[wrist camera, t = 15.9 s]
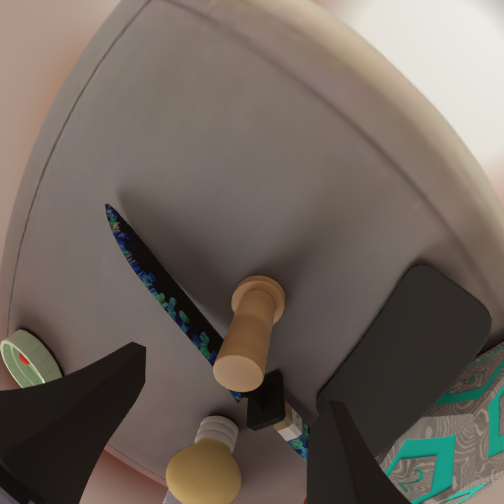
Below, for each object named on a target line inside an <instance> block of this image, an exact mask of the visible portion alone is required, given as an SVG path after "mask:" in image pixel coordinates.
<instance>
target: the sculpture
mask: <svg viewBox="0 0 504 504" xmlns="http://www.w3.org/2000/svg"><path fill="white" fill-rule="evenodd" d="M377 463H378V464H379V466H380V467H381V469H382V470H383V472H384V473H385V474H386V475H387V477H388V478H389V479H390V480H391V482H392V483H393V484H394V485H395V487H396V488H397V489H398V490H399V491H400V492H401V493H402V494H403V495H404V496H405V497H406V498H407V499H408V500H409V501H410V502H411V503H412V504H462V503H464V502H466V501H468V500H470V499H472V498H474V497H476V496H478V495H479V494H481V493H482V492H483V491H485V490H486V489H487V488H489V487H490V486H491V485H492V484H494V483H495V482H496V481H497V480H498V479H499V478H501V477H502V476H503V475H504V341H503V342H502V343H500V344H499V345H497V346H495V347H494V348H492V349H490V350H489V351H487V352H485V353H483V354H482V355H480V356H478V357H476V358H474V359H473V361H472V362H471V363H470V364H469V366H468V367H467V368H466V369H465V371H464V372H463V373H462V374H461V376H460V377H459V378H458V379H457V380H456V381H455V383H454V384H453V385H452V386H451V387H450V388H449V389H448V391H447V392H446V393H445V394H444V395H443V396H442V397H441V398H440V399H439V400H438V401H437V402H436V404H435V405H434V406H433V407H432V408H431V409H430V410H429V411H428V412H427V413H426V414H425V415H424V416H423V417H422V418H421V419H420V420H418V421H417V422H416V423H415V424H414V425H413V426H412V427H411V428H410V429H409V430H408V431H407V432H405V433H404V434H403V435H402V436H401V437H400V438H399V439H397V440H396V441H395V442H394V443H393V444H392V445H390V446H389V447H388V448H387V449H385V450H384V451H383V452H382V454H381V455H380V457H379V459H378V460H377Z"/></svg>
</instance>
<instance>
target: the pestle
mask: <svg viewBox="0 0 504 504" xmlns="http://www.w3.org/2000/svg"><path fill="white" fill-rule="evenodd" d="M231 305H232V310H233V312H234V317H233V319H232V322H231V324H230V326H229V329H228V331H227V334H226V336H225V339H224V341H223V344H222V346H221V348H220V351H219V353H218V356H217V358H216V360H215V363H214V366H213V373H214V376H215V378H216V380H217V381H218V382H219V383H220V384H221V385H222V386H224V387H225V388H227V389H230V390H233V391H237V392H248V391H252V390H254V389H256V388H258V387H259V386H260V385H261V384H262V382H263V379H264V375H265V369H266V363H267V357H268V351H269V345H270V340H271V333H272V327H273V324H275V323H276V322H277V321H278V320H279V319H280V318H281V317H282V315H283V313H284V309H285V294H284V291H283V289H282V288H281V286H280V285H279V284H278V283H277V282H276V281H274V280H273V279H271V278H269V277H266V276H260V275H256V276H250V277H248V278H245V279H244V280H242V281H241V282H240V283H239V284H238V285H237V287H236V289H235V291H234V293H233V295H232V299H231Z"/></svg>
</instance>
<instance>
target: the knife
mask: <svg viewBox="0 0 504 504" xmlns="http://www.w3.org/2000/svg"><path fill="white" fill-rule="evenodd" d="M105 207H106V215H107V218H108V221H109V224H110V227H111V230H112V232H113V235H114V236H115V239H116V241H117V243H118V245H119V247H120V248H121V250H122V252H123V254H124V256H125V258H126V259H127V261H128V262H129V264H130V265H131V267H132V268H133V270H134V271H135V273H136V274H137V275H138V277H139V278H140V279H141V281H142V282H143V283H144V285H145V286H146V287H147V289H148V290H149V291H150V292H151V294H152V295H153V296H154V297H155V299H156V300H157V301H158V302H159V303H160V305H161V306H162V307H163V308H164V309H165V311H166V312H167V313H168V314H169V315H170V316H171V318H172V319H173V320H174V321H175V322H176V323H177V325H178V326H179V327H180V328H181V329H182V331H183V332H184V333H185V334H186V335H187V336H188V338H189V339H190V340H191V341H192V342H193V343H194V345H195V346H196V347H197V348H198V349H199V350H200V352H201V353H202V354H203V355H204V356H205V358H206V359H207V360H208V361H209V362H210V364H211V365H212V366H214V363H215V360H216V358H217V356H218V353H219V351H220V348H221V346H222V344H223V341H224V339H223V338H222V337H221V336H220V335H219V333H218V332H217V331H216V330H215V329H214V328H213V326H212V325H211V324H210V323H209V322H208V320H207V319H206V318H205V317H204V316H203V314H202V313H201V312H200V311H199V309H198V308H197V307H196V306H195V305H194V303H193V302H192V301H191V300H190V298H189V297H188V296H187V295H186V294H185V292H184V291H183V290H182V289H181V288H180V286H179V285H178V284H177V283H176V282H175V280H174V279H173V278H172V277H171V275H170V274H169V273H168V272H167V271H166V269H165V268H164V267H163V266H162V265H161V263H160V262H159V261H158V260H157V258H156V257H155V256H154V255H153V254H152V252H151V251H150V250H149V249H148V247H147V246H146V245H145V244H144V242H143V241H142V240H141V239H140V238H139V236H138V235H137V234H136V233H135V231H134V230H133V229H132V228H131V226H130V225H129V224H128V223H127V222H126V221H125V220H124V219H123V218H122V217H121V216H120V214H119V213H118V212H117V211H116V210H115V209H114V208H113V207H111V206H110V205H109V204H105ZM229 390H230V389H229ZM230 392H231V394H232V395H233V397H234V398H235V400H236V402H237V403H239V401H240V400H241V399H242V398H243V397H246V398H248V408H247V427H249V428H250V429H252V430H254V431H256V430H259V429H262V428H265V427H267V426H270V425H272V426H273V427H274V428H275V429H276V430H277V431H278V433H279V434H280V435H281V436H282V437H283V438H284V439H285V440H286V441H287V442H288V443H289V444H290V445H291V446H292V447H293V448H294V449H295V451H296V452H297V453H298V454H299V455H300V456H301V457H302V458H303V459H304V460H305V461H306V462H307V449H308V441H309V434H310V429H311V428H310V427H309V425H308V424H307V423H306V422H305V421H304V420H303V419H302V418H301V417H300V416H299V415H298V414H297V413H296V412H295V410H294V409H293V408H292V407H291V406H290V405H289V404H288V403H287V402H286V401H285V399H284V389H283V377H282V374H281V373H279V372H278V371H274V372H272V373H270V374H268V375H266V376H264V379H263V382H262V384H261V385H260V386H259V387H258V388H256V389H254V390H252V391H248V392H237V391H233V390H230Z"/></svg>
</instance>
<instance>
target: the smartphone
mask: <svg viewBox="0 0 504 504" xmlns="http://www.w3.org/2000/svg"><path fill="white" fill-rule="evenodd" d="M492 320H493V318H492V316H491V313H490V311H489V309H488V308H487V307H486V306H485V304H484V303H482V302H481V301H480V300H479V299H478V298H477V297H475V296H474V295H473V294H472V293H470V292H469V291H468V290H466V289H465V288H464V287H462V286H461V285H460V284H458V283H457V282H456V281H455V280H453V279H452V278H450V277H449V276H448V275H446V274H445V273H444V272H442V271H441V270H439V269H438V268H436V267H434V266H432V265H430V264H427V263H418V264H416V265H414V266H412V267H411V268H410V269H409V270H408V271H407V272H406V273H405V275H404V276H403V277H402V279H401V281H400V282H399V284H398V286H397V287H396V289H395V290H394V292H393V294H392V295H391V297H390V298H389V300H388V301H387V303H386V305H385V306H384V308H383V309H382V311H381V312H380V314H379V315H378V317H377V318H376V320H375V321H374V323H373V324H372V325H371V327H370V328H369V330H368V331H367V333H366V334H365V335H364V337H363V338H362V340H361V341H360V342H359V344H358V345H357V346H356V348H355V349H354V351H353V352H352V353H351V355H350V356H349V357H348V358H347V360H346V361H345V362H344V364H343V365H342V366H341V367H340V369H339V370H338V371H337V373H336V374H335V375H334V376H333V378H332V379H331V380H330V381H329V382H328V384H327V385H326V386H325V387H324V388H323V390H322V391H321V392H320V394H319V396H318V399H317V404H316V407H317V410H318V413H319V414H321V412H322V411H323V409H324V408H325V406H326V405H327V403H328V401H329V400H334V401H340V402H344V403H345V405H346V407H347V409H348V411H349V413H350V415H351V417H352V419H353V421H354V423H355V425H356V427H357V429H358V430H359V432H360V434H361V436H362V438H363V440H364V441H365V443H366V445H367V447H368V449H369V450H370V452H371V454H372V455H373V457H374V458H375V457H376V456H378V455H379V454H380V453H382V452H383V451H384V450H385V449H387V448H388V447H389V446H390V445H392V444H393V443H394V442H395V441H396V440H397V439H399V438H400V437H401V436H402V435H403V434H404V433H405V432H407V431H408V430H409V429H410V428H411V427H412V426H413V425H414V424H415V423H416V422H417V421H418V420H420V419H421V418H422V417H423V416H424V415H425V414H426V413H427V412H428V411H429V410H430V409H431V408H432V407H433V406H434V405H435V404H436V402H437V401H438V400H439V399H440V398H441V397H442V396H443V395H444V394H445V393H446V392H447V391H448V389H449V388H450V387H451V386H452V385H453V384H454V383H455V381H456V380H457V379H458V378H459V377H460V376H461V374H462V373H463V372H464V371H465V369H466V368H467V367H468V366H469V364H470V363H471V362H472V361H473V359H474V358H475V357H476V355H477V354H478V353H479V351H480V350H481V349H482V347H483V346H484V345H485V343H486V341H487V339H488V337H489V335H490V332H491V329H492Z"/></svg>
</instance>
